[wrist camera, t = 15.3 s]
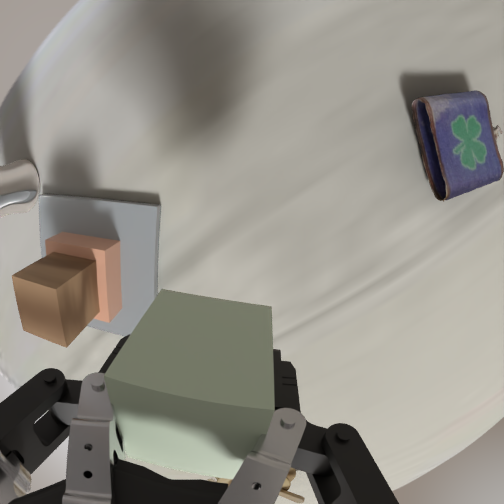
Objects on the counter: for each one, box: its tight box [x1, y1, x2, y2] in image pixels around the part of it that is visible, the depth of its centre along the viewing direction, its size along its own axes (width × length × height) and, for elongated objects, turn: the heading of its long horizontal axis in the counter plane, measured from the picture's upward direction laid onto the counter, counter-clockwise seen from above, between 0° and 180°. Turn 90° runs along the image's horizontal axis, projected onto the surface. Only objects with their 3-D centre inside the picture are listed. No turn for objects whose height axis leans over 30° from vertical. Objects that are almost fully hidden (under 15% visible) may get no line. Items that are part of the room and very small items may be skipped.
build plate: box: [39, 194, 161, 336], centre depth 25 cm, size 14×14×4 cm
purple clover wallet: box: [411, 91, 504, 201], centre depth 20 cm, size 9×3×11 cm
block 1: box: [12, 252, 100, 347], centre depth 20 cm, size 5×5×6 cm
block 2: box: [104, 289, 275, 479], centre depth 11 cm, size 5×5×6 cm
